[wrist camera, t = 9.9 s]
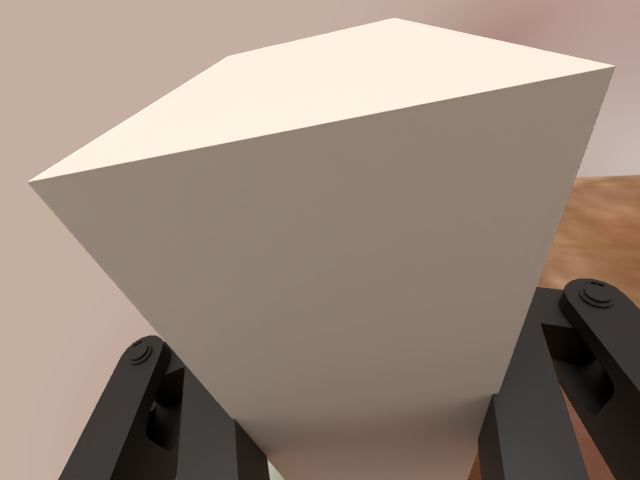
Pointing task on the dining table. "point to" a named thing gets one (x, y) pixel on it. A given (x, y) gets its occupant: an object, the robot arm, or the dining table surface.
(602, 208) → the dining table surface
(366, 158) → the cream rectangular block
